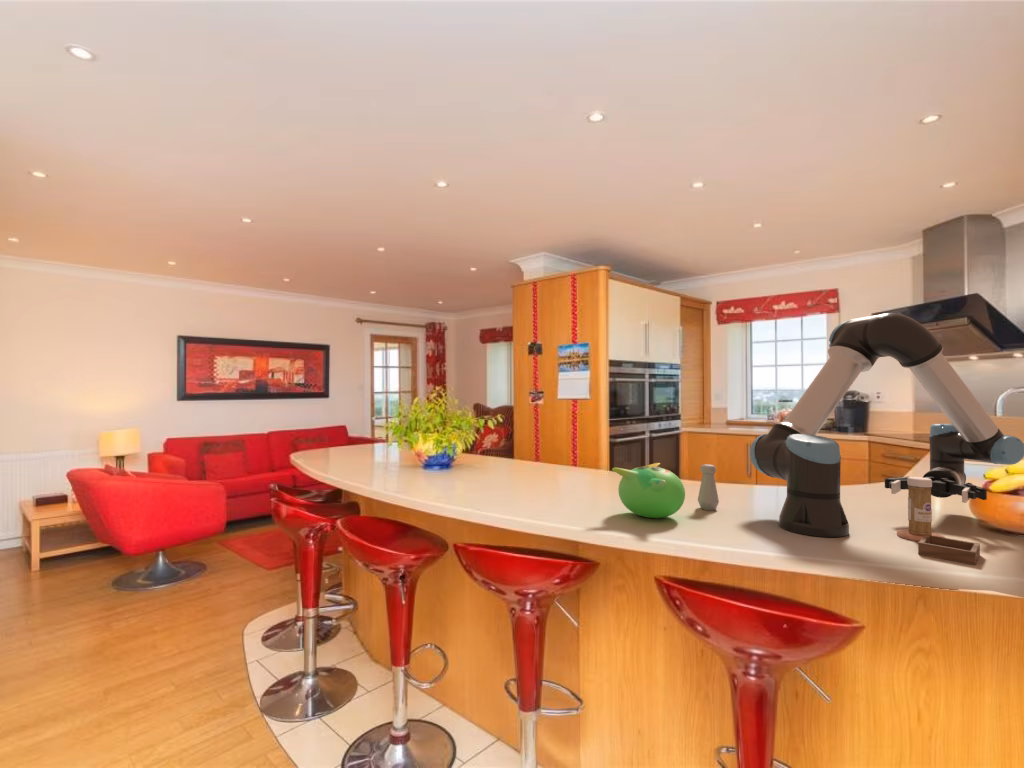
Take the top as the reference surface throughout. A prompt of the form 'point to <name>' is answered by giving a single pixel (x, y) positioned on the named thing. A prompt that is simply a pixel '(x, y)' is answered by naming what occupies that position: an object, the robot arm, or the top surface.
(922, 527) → the sprinkles bottle
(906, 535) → the terracotta coaster
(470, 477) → the top surface
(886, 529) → the top surface
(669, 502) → the green cartoon creature figurine
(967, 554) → the walnut collar
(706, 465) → the salt shaker
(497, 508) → the top surface
